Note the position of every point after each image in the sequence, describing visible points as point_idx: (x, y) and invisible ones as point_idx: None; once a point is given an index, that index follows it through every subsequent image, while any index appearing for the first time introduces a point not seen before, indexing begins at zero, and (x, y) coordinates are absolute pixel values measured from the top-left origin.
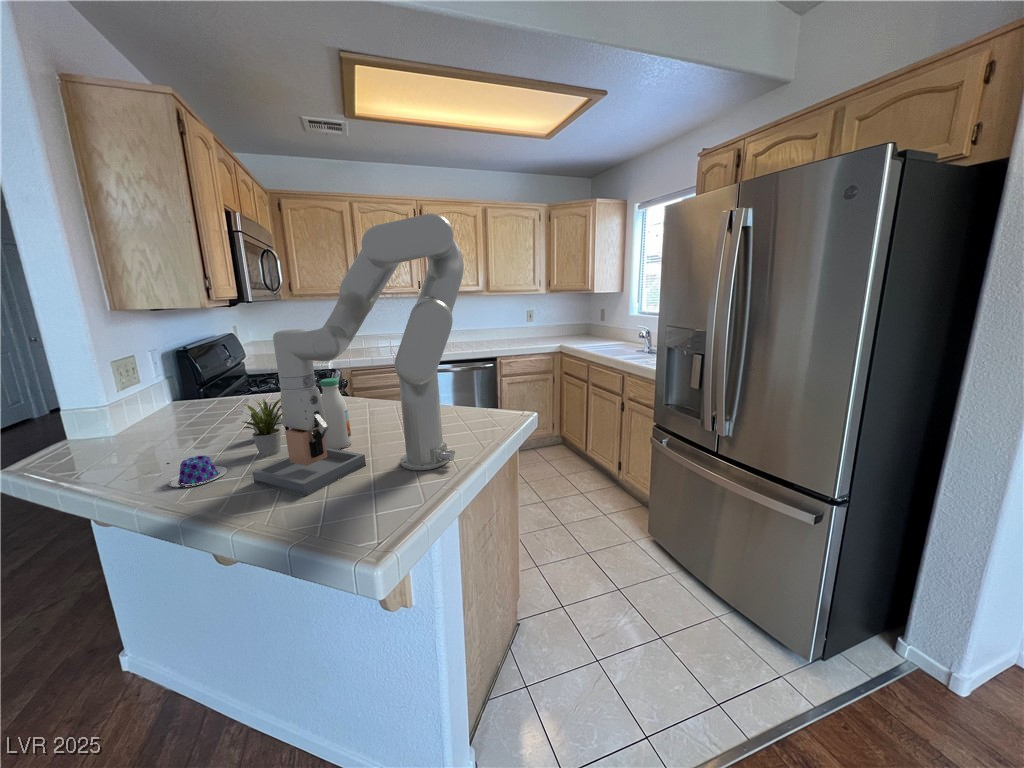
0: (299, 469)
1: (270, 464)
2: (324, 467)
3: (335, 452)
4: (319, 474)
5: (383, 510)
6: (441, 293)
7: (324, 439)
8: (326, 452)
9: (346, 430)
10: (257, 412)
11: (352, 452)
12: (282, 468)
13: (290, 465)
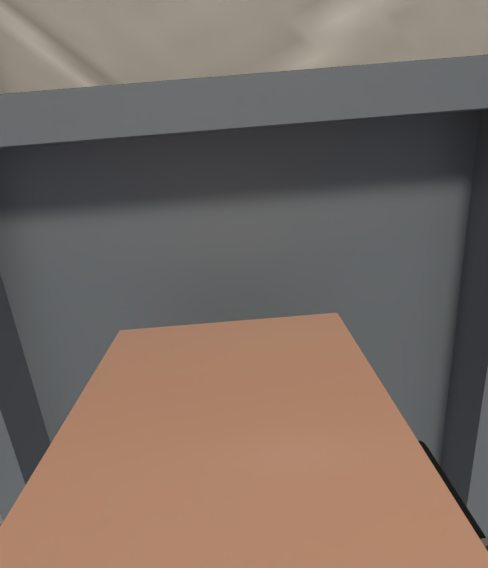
0: None
1: (6, 515)
2: (283, 292)
3: (211, 129)
4: (481, 471)
5: None
6: None
7: (407, 434)
8: (350, 336)
9: None
10: None
11: (410, 64)
12: (42, 428)
13: (29, 377)
